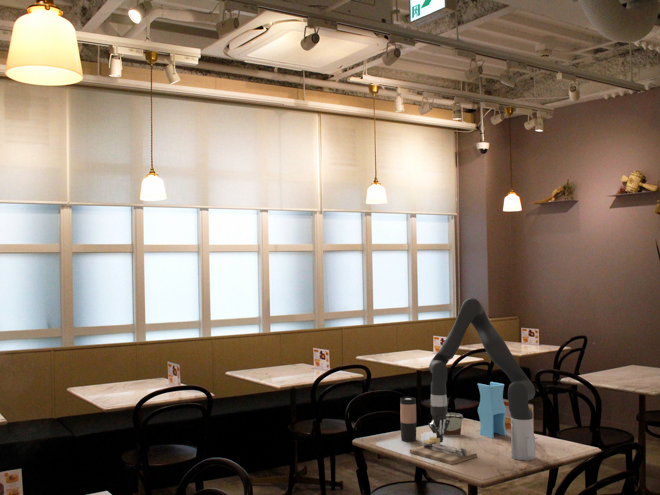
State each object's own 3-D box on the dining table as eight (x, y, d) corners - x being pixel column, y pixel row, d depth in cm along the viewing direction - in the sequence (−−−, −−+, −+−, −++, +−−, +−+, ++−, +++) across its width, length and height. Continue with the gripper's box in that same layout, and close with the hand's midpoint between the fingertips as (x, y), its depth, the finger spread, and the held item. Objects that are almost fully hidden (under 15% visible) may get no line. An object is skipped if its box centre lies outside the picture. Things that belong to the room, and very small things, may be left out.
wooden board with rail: (476, 456, 285) (476, 446, 286) (451, 464, 274) (451, 454, 275) (434, 446, 304) (434, 436, 304) (409, 452, 293) (409, 443, 293)
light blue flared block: (492, 431, 331) (491, 381, 332) (507, 435, 322) (506, 384, 323) (478, 434, 326) (477, 383, 327) (492, 438, 317) (491, 386, 318)
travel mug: (398, 440, 314) (397, 398, 315) (403, 437, 321) (403, 396, 322) (413, 442, 311) (413, 400, 311) (418, 438, 317) (418, 397, 318)
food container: (462, 432, 329) (462, 412, 329) (463, 435, 323) (463, 415, 323) (437, 432, 330) (437, 412, 331) (438, 435, 324) (438, 414, 324)
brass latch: (440, 446, 296) (440, 437, 296) (429, 449, 291) (429, 440, 292) (434, 445, 299) (433, 436, 299) (423, 448, 294) (423, 439, 294)
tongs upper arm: (462, 452, 282) (462, 450, 282) (458, 453, 281) (459, 451, 281) (427, 443, 298) (427, 440, 298) (423, 444, 296) (423, 441, 296)
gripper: (442, 400, 307) (443, 438, 306) (423, 405, 298) (423, 443, 298) (454, 403, 301) (455, 441, 300) (435, 407, 292) (436, 446, 292)
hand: (439, 442), depth 299 cm, fingers closed
